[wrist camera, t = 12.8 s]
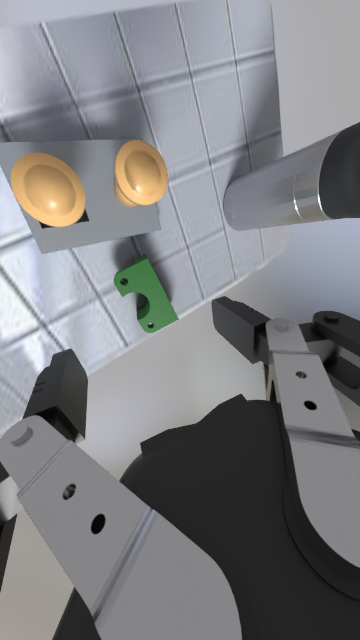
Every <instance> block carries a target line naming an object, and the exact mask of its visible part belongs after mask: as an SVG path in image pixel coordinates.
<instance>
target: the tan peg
mask: <svg viewBox="0 0 360 640" xmlns="http://www.w3.org/2000/svg"><path fill="white" fill-rule="evenodd" d="M11 186H12V190H13V193H14V195H15V197H16V199H17V201H18V202H19V204H20V205H21V206H22V207H23V209H24V210H25V211H26V212H27V213H29V214H30V215H31V216H32V217H34V218H35V219H37V220H38V221H40V222H42V223H44V224H46V225H49V226H53V227H67V226H70V225H72V224H74V223H76V222H77V221H78V220H79V219H80V218H81V216H82V215H83V212H84V209H85V202H86V201H85V192H84V188H83V186H82V183H81V181H80V179H79V178H78V176H77V175H76V173H75V172H74V171H73V170H72V169H71V168H70V167H69V166H68V165H67V164H66V163H64V162H63V161H62V160H60V159H58V158H56V157H54V156H52V155H49V154H45V153H30V154H26V155H24V156H22V157H21V158H19V159H18V160H17V161H16V163H15V164H14V166H13V168H12V171H11Z"/></svg>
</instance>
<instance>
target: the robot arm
mask: <svg viewBox="0 0 360 640" xmlns="http://www.w3.org/2000/svg"><path fill="white" fill-rule="evenodd" d="M224 213H225V217H226V219H227V221H228V223H229V224H230V226H231V227H232V228H234V229H236V230H240V231H243V230H251V229H260V228H268V227H276V226H284V225H292V224H301V223H309V222H316V221H324V220H332V219H342V218H360V122H359V123H357V124H355V125H352V126H350V127H348V128H346V129H344V130H342V131H339V132H337V133H335V134H333V135H331V136H328V137H326V138H324V139H322V140H320V141H317V142H316V143H313V144H311V145H309V146H307V147H305V148H302V149H300V150H298V151H296V152H294V153H291V154H289V155H287V156H285V157H283V158H280V159H278V160H276V161H274V162H272V163H269V164H267V165H265V166H263V167H261V168H258V169H256V170H254V171H252V172H249V173H247V174H245V175H243V176H241V177H239V178H236V179H235V180H234V181H232V182H231V184H230V185H229V186H228V188H227V190H226V193H225V197H224ZM212 312H213V323H214V326H215V329H216V330H217V331H218V332H219V333H220V334H221V335H222V336H223V337H224V338H225V339H226V340H227V341H228V342H229V343H230V344H231V345H233V346H234V347H235V348H236V349H237V350H238V351H239V352H240V353H241V354H242V355H243V356H244V357H246V358H247V359H248V360H249V361H250V362H251V363H252V364H254V363H257V362H259V361H262V362H263V374H264V384H265V395H266V400H248V401H247V400H246V399H245V398H244V396H243V395H242V394H239V395H237V396H235V397H233V398H231V399H229V400H227V401H225V402H223V403H221V404H219V405H218V406H217V407H216V408H215V409H213V410H212V411H211V412H210V413H209V414H207V415H206V416H205V417H204V418H203V419H202V420H201V421H199V422H198V423H196V424H192V425H187V426H182V427H178V428H173V429H168V430H166V431H164V432H162V433H160V434H157V435H155V436H154V437H151V438H149V439H147V440H145V441H143V442H142V443H140V445H141V450H142V453H141V454H140V455H139V456H138V457H137V458H136V459H135V460H134V461H133V462H132V463H131V464H130V466H129V467H128V468H127V469H126V471H125V473H124V474H123V475H122V477H121V479H120V481H118V480H117V479H116V478H114V477H113V476H112V475H111V474H110V473H109V472H108V471H106V470H105V469H104V468H103V467H102V466H101V465H99V464H98V463H97V462H96V461H95V460H94V459H92V458H91V457H90V456H89V455H88V454H86V453H85V452H84V451H83V450H82V449H81V448H79V447H78V446H77V445H76V443H79V442H81V441H83V440H85V428H86V408H87V387H88V379H87V375H86V372H85V370H84V368H83V367H82V365H81V363H80V362H79V360H78V358H77V357H76V355H75V353H74V352H73V350H72V349H67V350H64V351H62V352H59V353H56V354H54V355H53V357H52V360H51V363H50V366H49V367H46V368H45V369H44V370H43V371H42V372H41V373H40V375H39V376H38V378H37V380H36V383H35V387H34V389H33V391H32V394H31V397H30V400H29V402H28V405H27V408H26V410H25V413H24V416H23V419H22V420H21V421H19V422H18V423H16V424H15V425H13V426H12V427H11V428H10V429H9V430H8V431H7V432H6V433H5V434H4V435H3V436H2V438H1V439H0V591H1V586H2V582H3V577H4V573H5V568H6V563H7V559H8V554H9V550H10V545H11V540H12V535H13V531H14V526H15V522H16V517H17V513H18V512H19V511H20V510H22V509H23V508H24V509H25V511H26V512H27V514H28V516H29V517H30V519H31V520H32V522H33V523H34V525H35V526H36V528H37V529H38V531H39V533H40V534H41V535H42V537H43V539H44V540H45V542H46V543H47V545H48V546H49V548H50V549H51V551H52V552H53V554H54V555H55V557H56V559H57V560H58V562H59V563H60V565H61V566H62V568H63V569H64V571H65V572H66V574H67V576H68V577H69V579H70V580H71V582H72V583H73V585H74V589H73V591H72V593H71V596H70V598H69V601H68V603H67V605H66V608H65V610H64V613H63V615H62V617H61V620H60V622H59V625H58V627H57V629H56V632H55V634H54V637H53V639H52V640H360V432H359V431H356V430H353V429H351V428H350V426H349V423H348V421H347V418H346V416H345V414H344V412H343V409H342V407H341V405H340V403H339V400H338V398H337V396H336V393H335V391H334V389H333V387H332V386H334V387H335V388H336V389H338V390H339V391H340V392H341V393H343V394H344V395H345V396H347V397H348V398H349V399H351V400H352V401H353V402H355V403H356V404H357V405H358V406H360V368H359V367H357V366H355V365H354V364H352V363H351V362H349V361H347V360H346V359H344V358H342V357H341V356H340V354H341V351H342V348H343V347H344V348H345V349H347V350H349V351H350V352H352V353H354V354H356V355H358V356H359V357H360V321H359V320H356V319H354V318H351V317H349V316H347V315H344V314H341V313H339V312H334V311H321V312H317V313H315V314H314V316H313V320H312V322H311V323H305V324H297V323H296V322H294V321H292V320H289V319H285V318H275V319H270V318H268V317H266V316H265V315H263V314H261V313H259V312H258V311H256V310H254V309H253V308H251V307H250V308H249V306H247V305H246V304H244V303H241V302H237V301H232V300H231V299H229V298H227V297H225V296H223V297H220V298H217V299H214V300H212Z"/></svg>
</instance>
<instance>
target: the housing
mask: <svg viewBox="0 0 360 640" xmlns="http://www.w3.org/2000/svg"><path fill="white" fill-rule="evenodd" d="M30 153H45V154H49V155H52V156H54V157H56V158H58V159H60V160H62V161H63V162H64V163H66V164H67V165H68V166H69V167H70V168H71V169H72V170H73V171H74V172H75V173H76V175H77V176H78V178H79V179H80V181H81V183H82V186H83V188H84V192H85V201H86V202H85V209H84V212H83V215H82V216H81V218H80V219H79V220H78V221H77V222H76V223H74V224H72V225H70V226H67V227H53V226H49V225H46V224H44V223H42V222H40V221H38V220H37V219H35V218H34V217H32V216H31V215H30V214H29V213H27V212H26V211H25V210H24V209H23V207H22V206H21V205H20V204H19V202H18V201H17V202H18V204H19V206H20V208H21V211H22V213H23V215H24V217H25V219H26V221H27V223H28V226H29V228H30V230H31V232H32V234H33V236H34V238H35V240H36V243H37V245H38V247H39V249H40V251H41V253H42V254H46V253H51V252H56V251H61V250H65V249H70V248H75V247H80V246H85V245H90V244H95V243H100V242H105V241H110V240H115V239H120V238H125V237H130V236H134V235H139V234H144V233H149V232H154V231H158V230H161V226H160V221H159V216H158V211H157V207H156V201H158V200H159V199H160V198H161V197H162V196H163V195H164V193H165V191H166V188H167V183H168V174H167V169H166V165H165V162H164V160H163V158H162V156H161V155H160V153H159V152H158V151H157V150H156V149H155V148H154V147H153V146H152V145H150V144H149V143H147V142H145V141H143V139H106V140H68V141H31V142H0V166H1V168H2V170H3V172H4V174H5V176H6V179H7V181H8V183H9V185H10V187H11V189H12V186H11V171H12V168H13V166H14V164H15V163H16V161H17V160H18V159H19V158H21V157H22V156H24V155H26V154H30ZM12 191H13V190H12ZM14 196H15V195H14ZM15 198H16V197H15ZM16 200H17V199H16Z"/></svg>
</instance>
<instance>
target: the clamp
mask: <svg viewBox="0 0 360 640" xmlns="http://www.w3.org/2000/svg"><path fill="white" fill-rule="evenodd" d="M122 278H126V279H127V280H128V282H127V283H122V282H121V279H122ZM114 284H115V286H116V287H117V289H118V291H119V292H120V294H121V295H122V297H123V296H125V295H126V294H128V293H131V292H138V293H141V294H143V295H145V296H146V297H147V298H148V299H147V302H146V304H145V305H144V306H143V307H142V308H140V309H137V320H138V322H139V323H140V325H141V326H142V328H143V329H144V331H146V332H148V333H153V332H155V331H157V330H159V329H161V328H163V327H165V326H167V325H169V324H171V323H173V322H175V321H177V320H179V319H178V317H177V315H176V313H175V311H174V309H173V307H172V305H171V303H170V301H169V299H168V297H167V295H166V293H165V291H164V289H163V288H162V286H161V284H160V282H159V280H158V278H157V276H156V274H155V272H154V270H153V268H152V266H151V264H150V262H149V260H148V258H147V256H146V255H143V256H141V257H139V258H137V259H135V260H134V264H132V265H130V266H128V267H126V268H124V269H122V270H120V271H118V272H117V273H116V275H115V278H114ZM149 323H153V324H151V325H149Z"/></svg>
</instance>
